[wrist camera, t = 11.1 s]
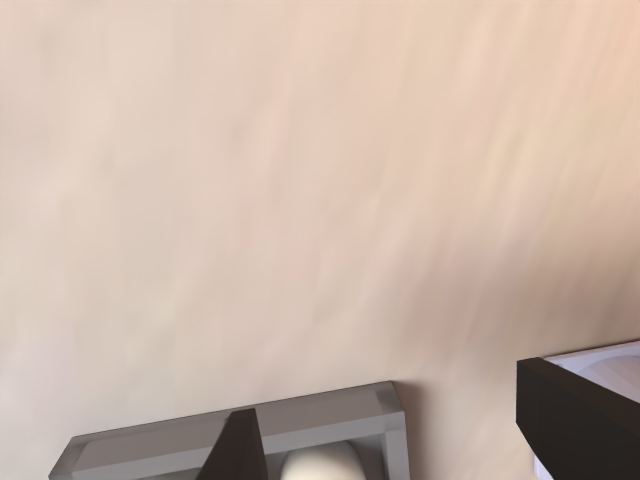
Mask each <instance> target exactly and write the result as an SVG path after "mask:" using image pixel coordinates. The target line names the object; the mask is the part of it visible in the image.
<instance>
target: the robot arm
mask: <svg viewBox="0 0 640 480" xmlns="http://www.w3.org/2000/svg"><path fill="white" fill-rule="evenodd" d="M557 364H558V365H557ZM516 423H517V425H518V427H519V428H520V430H521V432H522V434H523V435H524V437H525V439H526V440H527V442H528V444H529V445H530V447H531V449H532V450H533V452H534V453H535V460H534V472H535V475H536V476H537V477H538V478H539V480H550V479H554V480H640V341H636V342H631V343H625V344H620V345H614V346H609V347H603V348H597V349H592V350H586V351H581V352H575V353H569V354H564V355H558V356H553V357H547V358H544V359H542V358H539V357H535V358H530V359H524V360H519V361H517V392H516ZM195 480H268V469H267V464H266V459H265V454H264V449H263V444H262V439H261V434H260V429H259V424H258V419H257V414H256V409H255V408H249V409H244V410H238V411H233V412H231V414H230V415H229V416H228V418H227V420H226V422H225V424H224V427H223V429H222V431H221V433H220V435H219V437H218V439H217V440H216V442H215V444H214V446H213V448H212V450H211V452H210V454H209V455H208V457H207V459H206V461H205V462H204V464H203V466H202V468H201V469H200V471H199V473H198V475H197V476H196V478H195Z"/></svg>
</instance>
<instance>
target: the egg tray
mask: <svg viewBox="0 0 640 480" xmlns="http://www.w3.org/2000/svg"><path fill="white" fill-rule="evenodd" d="M249 408H255V409H256V414H257V419H258V424H259V429H260V434H261V439H262V444H263V449H264V454H265V459H266V464H267V469H268V480H280V479H279V471H280V465H281V463H282V460H283V458H284V457H285V455H286V454H287V452H288V451H289V450H293V449H299V448H304V447H310V446H315V445H320V444H326V443H331V442H336V441H342V440H345V441H347V442H348V443H350V444H351V445H352V446H353V447H354V448H355V449H356V450H357V452H358V453H359V455H360V458H361V462H362V465H363V469H364V473H365V477H366V480H410V475H409V462H408V450H407V437H406V425H405V412H404V409H403V407H402V405H401V402H400V400H399V398H398V396H397V394H396V391H395V389H394V387H393V385H392V382H391V381H386V382H380V383H375V384H369V385H363V386H358V387H352V388H347V389H341V390H335V391H330V392H324V393H318V394H313V395H307V396H302V397H296V398H290V399H285V400H279V401H274V402H268V403H262V404H257V405H251V406H245V407H240V408H234V409H229V410H223V411H217V412H212V413H206V414H200V415H195V416H189V417H184V418H178V419H172V420H167V421H161V422H155V423H150V424H144V425H139V426H133V427H127V428H122V429H116V430H111V431H105V432H99V433H94V434H88V435H82V436H77V437H72V438H71V440H70V442H69V443H68V445H67V447H66V448H65V450H64V451H63V453H62V455H61V456H60V458H59V460H58V461H57V463H56V464H55V466H54V468H53V469H52V471H51V473H50V474H49V476H48V477H49V480H139V479H140V478H143V477H149V476H154V475H159V474H165V473H170V472H175V471H181V470H186V469H191V468H197V467H198V468H200V469H201V468H202V466H203V464H204V462H205V461H206V459H207V457H208V455H209V454H210V452H211V450H212V448H213V446H214V444H215V442H216V440H217V439H218V437H219V435H220V433H221V431H222V429H223V427H224V424H225V422H226V420H227V418H228V416H229V415H230V414H231V412H233V411H238V410H244V409H249Z"/></svg>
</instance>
